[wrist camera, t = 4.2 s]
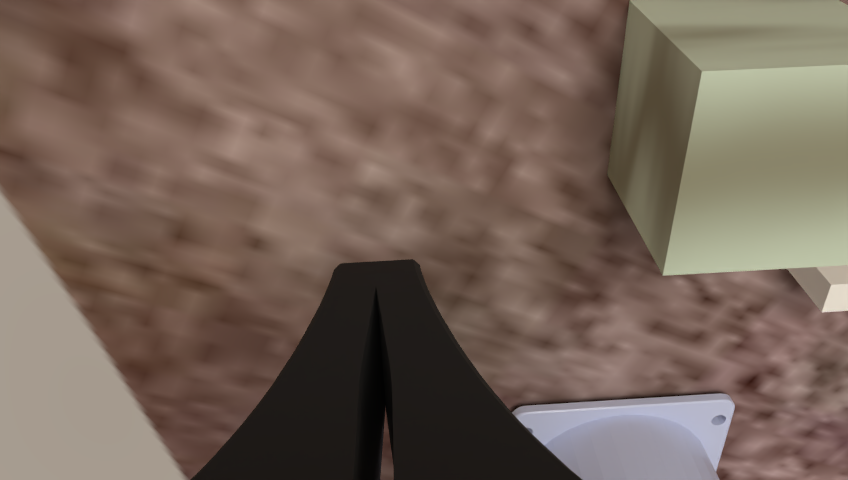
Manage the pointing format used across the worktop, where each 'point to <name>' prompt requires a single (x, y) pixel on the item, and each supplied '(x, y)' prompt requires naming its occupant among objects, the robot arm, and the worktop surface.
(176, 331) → the worktop surface
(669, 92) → the block
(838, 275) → the block
